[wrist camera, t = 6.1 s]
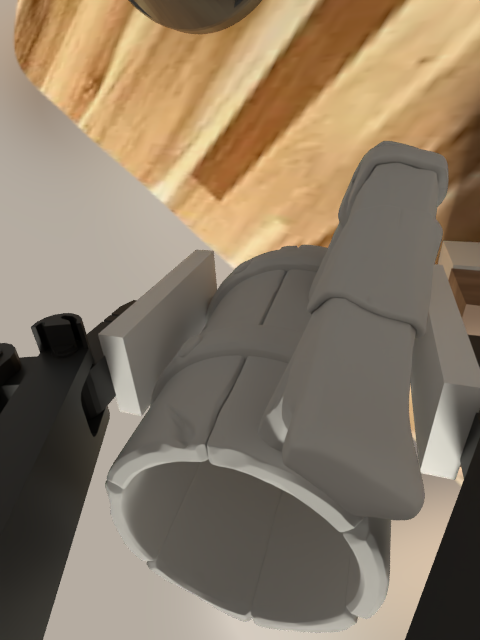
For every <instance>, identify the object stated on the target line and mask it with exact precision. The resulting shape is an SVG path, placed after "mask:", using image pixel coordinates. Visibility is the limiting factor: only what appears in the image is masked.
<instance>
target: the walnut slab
mask: <svg viewBox="0 0 480 640" xmlns="http://www.w3.org/2000/svg"><path fill="white" fill-rule="evenodd" d="M448 281H449V284H450V287H451V289H452V292H453V295H454V298H455V301H456V303H457V306H458V309H459V312H460V315H461V317H462V320H463V323H464V326H465V329H466V332H467V334H468V335H477V336H480V271H479V270H467V269H454V268H451V272H450V276H449V280H448ZM460 467H461V465H460Z"/></svg>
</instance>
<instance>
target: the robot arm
mask: <svg viewBox="0 0 480 640" xmlns="http://www.w3.org/2000/svg"><path fill="white" fill-rule="evenodd" d="M129 1H130V2H131V4H132V5H133V6H135V7H136V8H137V9H138V10H139V11H140V12H141V13H143V14H144V15H145V16H147V17H148V18H150V19H151V20H153V21H155V22H156V23H158V24H160V25H163V26H165V27H168V28H171V29H174V30H177V31H180V32H184V33H190V34H208V33H213V32H217V31H220V30H223V29H226V28H228V27H230V26H232V25H234V24H235V23H237V22H239V21H240V20H242V19H243V18H244V17H246V16H247V15H248V14H249V13H250V12H251V11H252V10H253V9H254V8H256V7H257V5H258V4H259V3H260V2H261V1H262V0H129ZM216 291H217V284H216V273H215V262H214V251H207V250H195V251H194V252H193V253H192V254H191V255H190V256H188V257H187V258H186V259H185V260H184V261H183V262H181V263H180V264H179V265H178V266H177V267H175V268H174V269H173V270H172V271H171V272H170V273H169V274H168V275H166V276H165V277H164V278H163V279H162V280H160V281H159V282H158V283H157V284H156V285H155V286H153V287H152V288H151V289H150V290H149V291H148V292H146V293H145V294H144V295H143V296H142V297H141V298H139V299H138V300H133V301H131V302H129V303H127V304H125V305H123V306H121V307H119V308H118V309H117V310H116V311H114V312H113V313H112V315H110V316H108V317H107V318H106V319H105V320H104V322H101V323H100V324H99V325H98V326H97V327H95V328H94V329H93V330H92V331H90V332H89V333H88V334H87V335H86V332H85V328H84V325H83V322H82V318H81V317H80V316H79V315H76V314H72V313H63V314H57V315H53V316H49V317H46V318H44V319H42V320H40V321H38V322H37V323H35V324H34V325H33V326H32V327H31V329H32V332H33V334H34V337H35V340H36V342H37V345H38V348H39V350H40V354H39V356H37V357H24V358H19V356H18V354H17V351H16V349H15V347H13V345H12V344H7V343H0V640H43V637H44V633H45V631H46V627H47V624H48V621H49V617H50V614H51V611H52V607H53V604H54V600H55V597H56V594H57V591H58V587H59V584H60V581H61V578H62V574H63V571H64V568H65V564H66V561H67V558H68V554H69V551H70V548H71V544H72V541H73V537H74V535H75V531H76V528H77V525H78V521H79V518H80V514H81V511H82V508H83V505H84V501H85V498H86V495H87V491H88V488H89V485H90V481H91V478H92V475H93V472H94V468H95V465H96V462H97V458H98V455H99V451H100V448H101V445H102V442H103V438H104V435H105V431H106V428H107V425H108V422H109V416H110V413H109V409H108V406H107V405H108V404H109V403H110V402H111V401H112V399H113V398H114V397H116V401H117V405H118V408H119V411H120V412H124V413H129V414H134V415H139V416H142V415H143V413H144V412H145V411H146V409H147V408H148V406H149V405H150V402H151V398H152V393H153V390H154V387H155V385H156V382H157V380H158V379H159V377H160V375H161V374H162V372H163V371H164V369H165V368H166V367H167V366H168V364H169V363H170V362H171V360H172V359H173V358H174V357H175V355H176V354H177V353H178V351H179V350H180V348H181V347H182V345H183V344H184V343H185V342H186V341H187V340H188V339H189V338H191V337H194V336H197V335H199V334H200V333H201V332H202V330H203V328H204V327H205V317H206V313H207V310H208V307H209V304H210V302H211V300H212V298H213V296H214V294H215V293H216ZM410 383H411V393H412V403H413V413H414V422H415V432H416V442H417V452H418V462H419V467H420V471H421V473H424V474H428V475H433V476H438V477H443V478H448V479H453V480H455V479H456V476H457V473H458V470H459V467H460V465H461V467H462V472H463V476H464V481H463V484H462V487H461V490H460V492H459V495H458V498H457V500H456V503H455V506H454V508H453V511H452V514H451V517H450V519H449V522H448V525H447V527H446V530H445V533H444V536H443V538H442V541H441V544H440V546H439V549H438V552H437V555H436V557H435V560H434V563H433V565H432V568H431V571H430V573H429V576H428V579H427V581H426V584H425V587H424V590H423V592H422V595H421V598H420V601H419V603H418V606H417V609H416V611H415V614H414V617H413V619H412V622H411V625H410V628H409V630H408V633H407V636H406V638H405V640H480V336H477V335H468V334H467V332H466V329H465V326H464V323H463V320H462V317H461V315H460V312H459V309H458V306H457V303H456V301H455V298H454V295H453V292H452V289H451V287H450V284H449V281H448V278H447V275H446V273H445V270H444V267H443V265H438V264H434V268H433V276H432V288H431V299H430V306H429V312H428V318H427V326H426V333H425V335H424V336H423V337H421V338H415V341H414V347H413V352H412V371H411V381H410Z"/></svg>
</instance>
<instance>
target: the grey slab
mask: <svg viewBox="0 0 480 640" xmlns="http://www.w3.org/2000/svg"><path fill="white" fill-rule="evenodd" d="M438 265H443V267H444V270H445V273H446V275H447V278H448V280H449V276H450V272H451V268H454V269H467V270H479V271H480V242H461V241H443V243H442V247H441V252H440V256H439V261H438Z"/></svg>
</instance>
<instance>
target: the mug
mask: <svg viewBox="0 0 480 640" xmlns="http://www.w3.org/2000/svg"><path fill="white" fill-rule="evenodd" d="M447 189H448V164H447V161H446V159H445V158H444V157H443V156H442V155H440V154H438V153H434V152H431V151H426V150H422V149H418V148H416V147H413V146H409V145H406V144H402V143H397V142H393V141H383V142H381V143H379V144H378V145H377V146H375V147H374V148H372V149H370V150H369V151H368V153H366V154H365V155H364V157H363V158H362V160H361V162H360V163H359V165H358V167H357V169H356V171H355V172H354V175H353V177H352V180H351V182H350V184H349V186H348V189H347V191H346V193H345V196H344V198H343V200H342V203H341V206H340V209H339V213H338V218H339V225H338V227H337V229H336V231H335V233H334V235H333V237H332V240H331V243H330V245H329V247H328V248H325V247H321V246H314V245H301V246H300V247H299V248H298V247H297V246H286V247H282V248H281V249H280V250H275V251H271V252H267V253H264V254H261V255H259V256H256V257H254V258H252V259H250V260H248V261H245V262H243V263H242V264H240V265H239V266H238V267H237V268H235V270H234V271H233V272H232V273H231V274H230V275H229V276H228V277H227V278H226V279H225V280H224V281H223V282H222V284H221V285H220V287H219V288H218V290H217V291H216V293H215V294H214V296H213V298H212V300H211V302H210V304H209V307H208V310H207V313H206V317H205V327H204V328H203V330H202V332H201V333H200V334H199V335H197V336H194V337H191V338H189V339H188V340H187V341H186V342H185V343H184V344H183V345H182V347H181V348H180V350H179V351H178V353H177V354H176V355H175V357H174V358H173V359H172V360H171V362H170V363H169V364H168V366H167V367H166V368H165V369H164V371H163V372H162V374H161V375H160V377H159V379H158V380H157V382H156V385H155V387H154V390H153V393H152V398H151V402H150V409H149V410H148V412H147V413H146V415H145V416H144V418H143V419H142V421H141V422H140V424H139V425H138V427H137V428H136V430H135V431H134V433H133V434H132V436H131V437H130V439H129V440H128V442H127V443H126V445H125V446H124V448H123V449H122V451H121V452H120V454H119V455H118V457H117V459H116V460H115V462H114V463H113V465H112V467H111V469H110V470H109V473H108V476H107V481H106V483H105V487H106V490H107V494H108V497H109V500H110V509H111V510H110V514H111V516H112V520H113V523H114V525H115V526H116V528H117V530H118V532H119V534H120V535H121V537H122V539H123V541H124V543H125V545H126V546H127V547H128V548H129V549H130V550H131V551H132V552H133V553H134V554H135V555H136V556H137V557H138V558H139V559H140V560H142V561H147V565H148V567H149V569H151V570H152V571H153V572H154V573H156V574H157V575H159V576H160V577H162V578H163V579H164V580H166V581H168V582H170V583H172V584H175V585H177V586H179V587H181V588H183V589H184V590H186V591H188V592H190V593H192V594H194V595H196V596H198V597H199V598H200V599H201V600H202V601H205V602H207V603H208V604H210V605H212V606H213V607H214V608H216V609H217V610H220V611H222V612H224V613H225V614H227V615H229V616H231V617H233V618H236V619H238V620H241V621H245V622H247V621H249V620H251V618H252V619H253V621H254V623H255V624H256V625H258V626H261V627H265V628H269V629H277V630H287V631H299V632H315V633H321V632H338V631H343V630H346V629H348V628H349V627H351V626H352V625H354V624H355V623H357V618H358V617H361V618H365V619H368V618H371V617H372V615H374V614H375V613H376V612H377V611H378V609H379V608H380V606H381V605H382V604H383V602H384V600H385V598H386V595H387V591H388V586H389V574H390V537H391V520H409V519H412V518H414V517H415V516H416V515H417V514H418V513H419V511H420V510H421V508H422V506H423V503H424V498H425V493H424V486H423V480H422V476H421V471H420V467H419V463H418V458H417V455H416V451H415V447H414V443H413V438H412V433H411V427H410V420H409V392H410V381H411V371H412V352H413V347H414V341H415V338H421V337H423V336H424V335H425V333H426V326H427V318H428V312H429V306H430V299H431V288H432V276H433V268H434V264H435V260H436V257H437V253H438V250H439V247H440V243H441V240H442V235H443V229H442V227H441V225H440V224H439V222H438V221H437V220H436V212H437V207H438V206H439V205H440V204H441V203H442V201H443V200H444V198H445V196H446V194H447Z"/></svg>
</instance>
